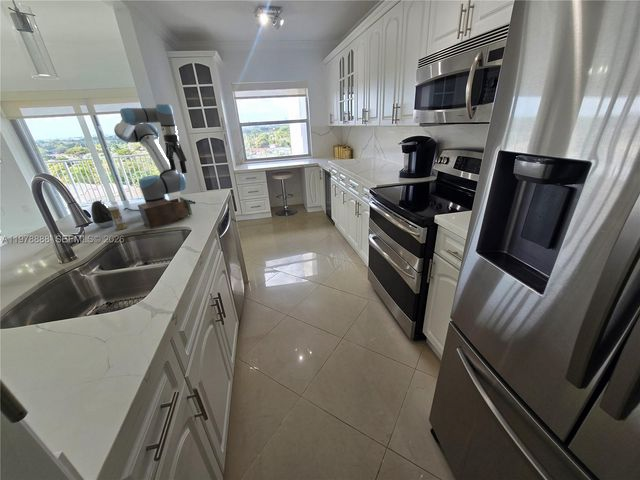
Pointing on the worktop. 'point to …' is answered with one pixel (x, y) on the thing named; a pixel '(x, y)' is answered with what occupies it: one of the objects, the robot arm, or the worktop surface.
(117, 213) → the sprinkles bottle
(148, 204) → the cabinet
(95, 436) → the worktop surface
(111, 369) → the worktop surface
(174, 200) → the drawer
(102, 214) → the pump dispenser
